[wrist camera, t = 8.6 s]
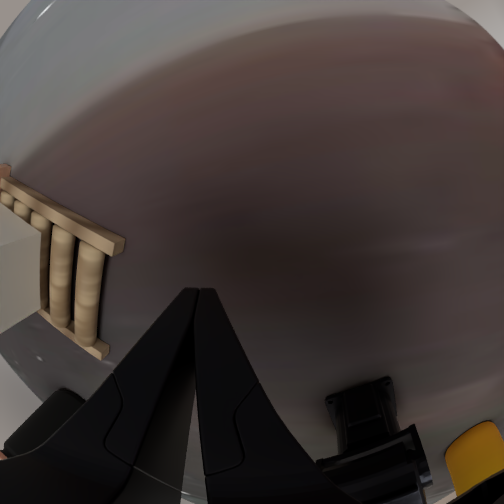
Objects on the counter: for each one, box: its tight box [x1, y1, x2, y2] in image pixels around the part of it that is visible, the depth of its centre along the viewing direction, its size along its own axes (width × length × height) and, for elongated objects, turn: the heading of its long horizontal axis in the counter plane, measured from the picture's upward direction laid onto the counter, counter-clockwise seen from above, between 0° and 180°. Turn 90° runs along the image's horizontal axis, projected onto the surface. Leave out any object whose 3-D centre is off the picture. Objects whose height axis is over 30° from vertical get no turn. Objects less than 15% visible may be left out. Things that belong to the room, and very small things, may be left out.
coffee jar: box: [0, 390, 85, 460], centre depth 22 cm, size 11×11×18 cm
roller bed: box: [0, 176, 125, 360], centre depth 22 cm, size 21×14×2 cm, turn 68°
